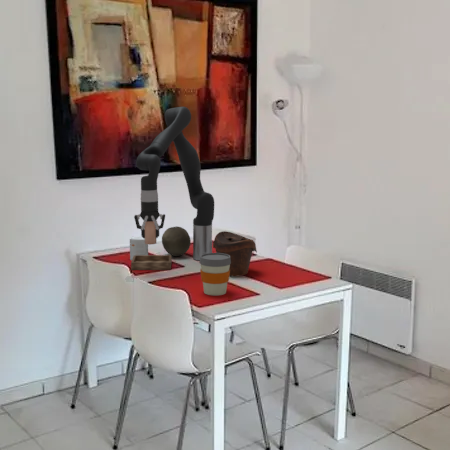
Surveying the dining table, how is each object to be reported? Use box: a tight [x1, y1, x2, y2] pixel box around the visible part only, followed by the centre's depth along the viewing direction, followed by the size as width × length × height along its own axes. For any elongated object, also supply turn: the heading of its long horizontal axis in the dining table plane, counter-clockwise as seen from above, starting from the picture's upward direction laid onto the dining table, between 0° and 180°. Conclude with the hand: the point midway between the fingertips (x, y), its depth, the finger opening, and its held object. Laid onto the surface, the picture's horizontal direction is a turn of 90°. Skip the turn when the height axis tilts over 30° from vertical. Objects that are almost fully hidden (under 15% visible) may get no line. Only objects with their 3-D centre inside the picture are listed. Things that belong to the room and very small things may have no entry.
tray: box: [130, 254, 173, 271], centre depth 292 cm, size 18×14×4 cm
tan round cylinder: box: [143, 221, 157, 245], centre depth 276 cm, size 5×5×10 cm
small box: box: [129, 236, 149, 261], centre depth 305 cm, size 8×6×10 cm
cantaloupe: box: [161, 226, 192, 257], centre depth 311 cm, size 14×14×15 cm
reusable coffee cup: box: [199, 252, 231, 296], centre depth 252 cm, size 13×13×15 cm
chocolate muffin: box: [212, 230, 258, 277], centre depth 281 cm, size 18×20×18 cm
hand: (150, 237), depth 277 cm, fingers closed on tan round cylinder, 5 cm apart
